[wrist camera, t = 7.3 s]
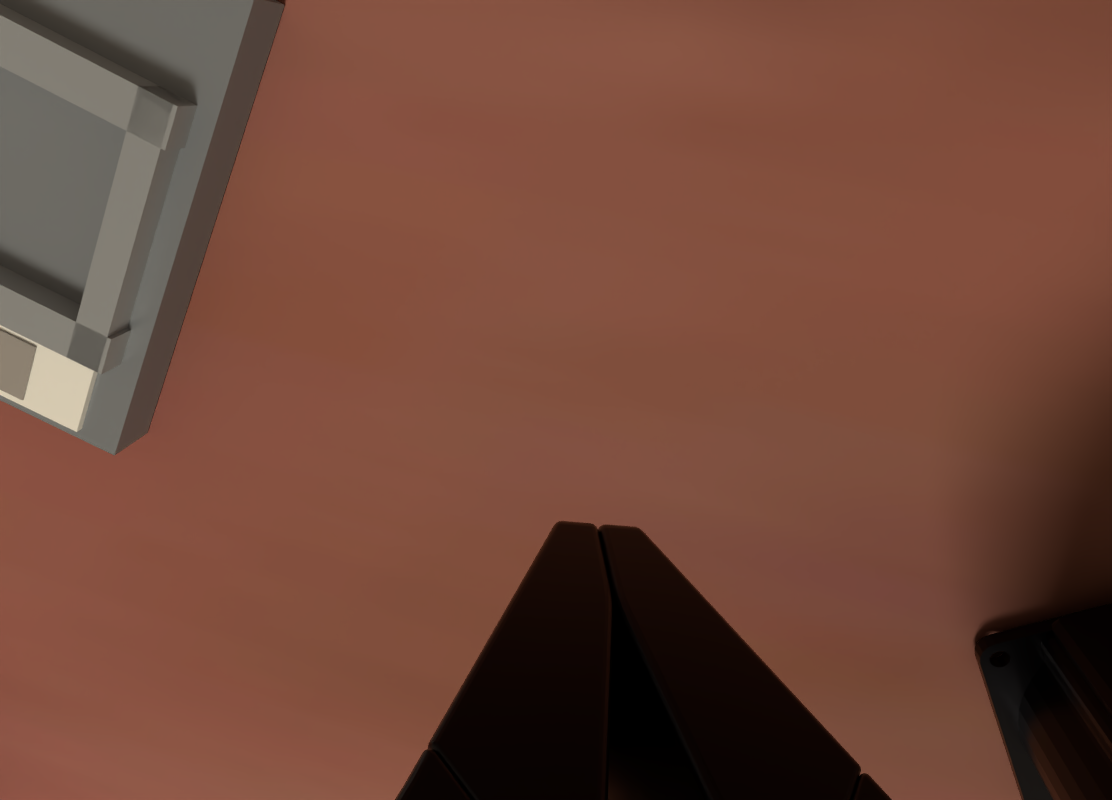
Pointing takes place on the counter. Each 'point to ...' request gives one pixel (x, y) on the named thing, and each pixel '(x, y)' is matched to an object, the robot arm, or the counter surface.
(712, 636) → the robot arm
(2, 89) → the docking station
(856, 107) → the counter surface
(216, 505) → the counter surface
